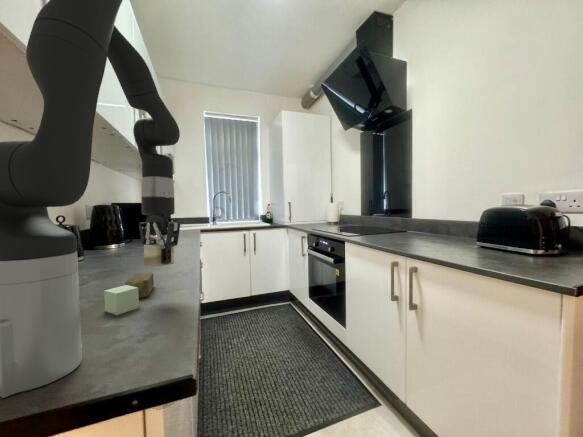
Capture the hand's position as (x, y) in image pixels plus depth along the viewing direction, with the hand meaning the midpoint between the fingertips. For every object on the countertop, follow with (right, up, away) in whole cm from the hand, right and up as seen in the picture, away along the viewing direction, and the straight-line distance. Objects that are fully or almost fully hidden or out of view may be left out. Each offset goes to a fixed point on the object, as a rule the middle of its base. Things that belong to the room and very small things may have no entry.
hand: (159, 262), depth 66 cm
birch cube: (0, -1, 0) cm, 1 cm away
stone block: (-9, -10, +8) cm, 16 cm away
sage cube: (-6, -11, -5) cm, 13 cm away
